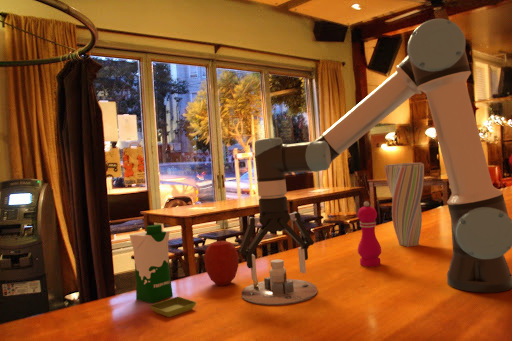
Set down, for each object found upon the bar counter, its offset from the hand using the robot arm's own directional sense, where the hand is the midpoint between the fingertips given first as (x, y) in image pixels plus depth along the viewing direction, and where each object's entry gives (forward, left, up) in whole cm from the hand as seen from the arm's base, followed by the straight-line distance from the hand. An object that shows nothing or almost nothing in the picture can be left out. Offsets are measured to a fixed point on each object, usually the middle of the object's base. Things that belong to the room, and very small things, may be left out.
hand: (279, 276), depth 120 cm
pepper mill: (+14, -35, -5) cm, 38 cm away
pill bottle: (0, 0, -4) cm, 4 cm away
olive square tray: (-1, +28, -5) cm, 29 cm away
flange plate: (0, 0, -4) cm, 4 cm away
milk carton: (+12, +32, -5) cm, 35 cm away
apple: (+16, +12, -5) cm, 21 cm away
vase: (+32, -61, -5) cm, 69 cm away
